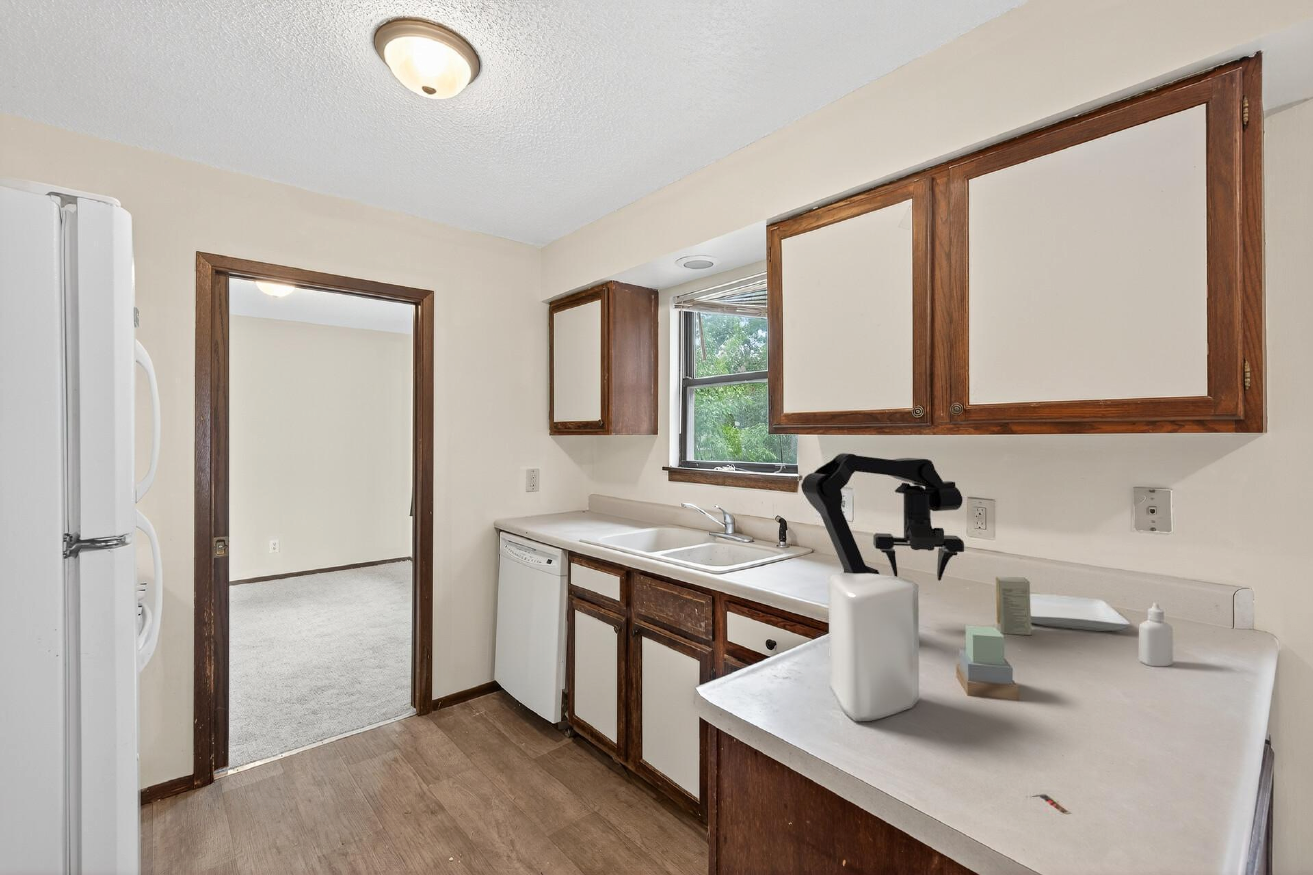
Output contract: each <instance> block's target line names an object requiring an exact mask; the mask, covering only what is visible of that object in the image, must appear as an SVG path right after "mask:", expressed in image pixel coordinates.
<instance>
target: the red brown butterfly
mask: <svg viewBox="0 0 1313 875" xmlns="http://www.w3.org/2000/svg"><path fill="white" fill-rule="evenodd" d="M1037 797H1039V798H1041V799H1042V800H1044V801H1045V802H1046V803H1048V804H1049V805H1050V806H1052V807H1053V808H1055V809H1056V810H1057V811H1059V812H1060V813H1061V815H1064V814H1071V812H1070V811H1069V810H1068V809H1067V808H1065V806H1063V805H1062V804H1060V803H1059V800H1056V799H1054V798H1052V797H1051V796H1050V795H1048V794H1046V793H1041V794H1036V795H1031V798H1037ZM1025 798H1027V796H1025Z"/></svg>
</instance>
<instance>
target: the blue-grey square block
mask: <svg viewBox="0 0 1313 875" xmlns="http://www.w3.org/2000/svg"><path fill="white" fill-rule="evenodd" d="M1004 661H1005V665H996V664H983V663H973V662H972V660H971V659H970V657H969V656H968V654H967V653H966V649H959V650H958V664H959V666H960V667H961V669H962V671H963V673H964V674H965V676H966V678H967V680H968V681H976V682H986V683H997V684H1007V685H1013V680H1014V678H1013V674H1014V673H1013V670H1014V668H1013V666H1012V665H1011V664H1010V663H1009V661H1008V660H1007V659H1006V658H1005V657H1004Z"/></svg>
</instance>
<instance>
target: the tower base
mask: <svg viewBox="0 0 1313 875" xmlns="http://www.w3.org/2000/svg"><path fill="white" fill-rule="evenodd" d="M955 667H956V669H955V670H956V674H955V675H956V679H957V680H958V682H959V684H960V686H961V687H962V689H963V690H964V692H965V694H966V695H967V697H978V698H988V699H996V700H997V699H999V700H1010V701H1019V685H1018V684H1017V683H1016V681H1015V680H1014V679H1013V685H1007V684H997V683H986V682H976V681H968V680H967V678H966V676H965V674H964V673H963V671H962V669H961V667H960V666H959V663H956V666H955Z"/></svg>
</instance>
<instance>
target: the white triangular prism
mask: <svg viewBox="0 0 1313 875" xmlns="http://www.w3.org/2000/svg"><path fill="white" fill-rule="evenodd" d="M919 603H920V602H919V584H917V583H916V582H915V581H913V580H909V579H906V578H903V577H899V576H897V577H896V576H894V575H890V574H883V573H882V574H881V573H879V574H871V573H863V574H854V573H844V572H839V573H832V574H828V637H829V638H828V652H829V653H828V654H829V655H828V660H829V661H828V662H829V671H828V672H829V689H830V691H831V692H832V695H833V696H834V698H835V699H836V701H837V702H838V704H839V706H840V708H841V709H842V711H843V713H845V714H846V715H847V716H848V717H849V718H850V719H852V720H853V721H854V722H873V721H875V720H879V719H883V718H886V717H889V716H892V715H895V714H898V713H901V712H904V711H906V710H908V709H913V707H914V706H915V705H916V704H917V703H918V701H919V700H920V640H919V639H920V638H919V637H920V635H919V634H920V633H919V631H920V630H919V629H920V628H919V627H920V624H919V622H920V621H919V619H920V618H919V617H920V616H919V609H920V608H919Z"/></svg>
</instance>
